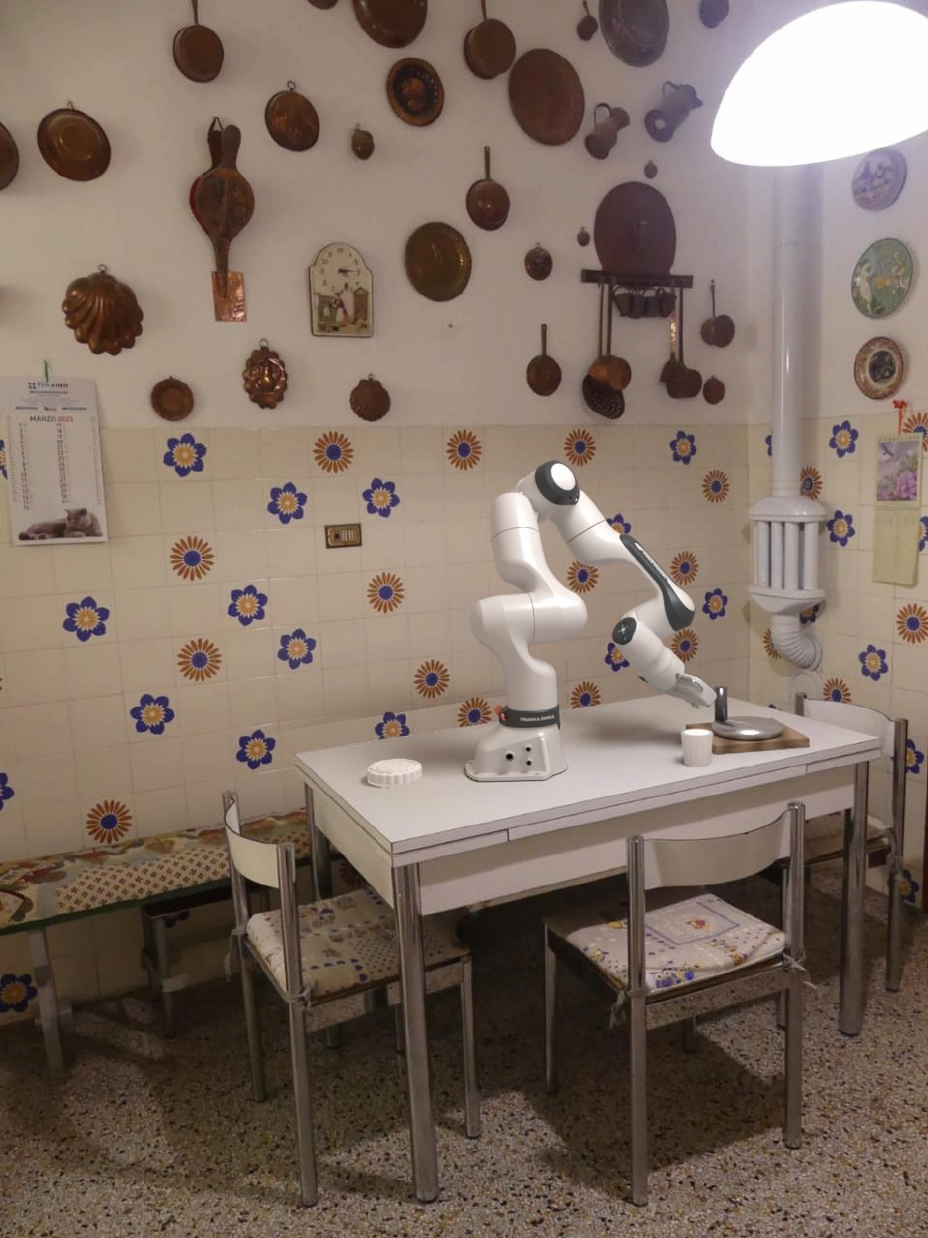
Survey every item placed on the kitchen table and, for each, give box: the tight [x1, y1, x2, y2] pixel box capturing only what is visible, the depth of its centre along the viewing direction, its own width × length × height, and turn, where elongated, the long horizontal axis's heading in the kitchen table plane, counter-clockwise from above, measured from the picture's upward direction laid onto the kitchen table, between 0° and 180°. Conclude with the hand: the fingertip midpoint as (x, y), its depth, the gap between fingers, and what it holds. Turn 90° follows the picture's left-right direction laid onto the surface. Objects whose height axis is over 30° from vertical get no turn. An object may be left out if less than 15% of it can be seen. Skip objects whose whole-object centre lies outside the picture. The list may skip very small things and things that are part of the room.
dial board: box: [685, 717, 810, 755], centre depth 223 cm, size 22×20×2 cm
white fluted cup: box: [680, 729, 713, 768], centre depth 207 cm, size 7×7×7 cm
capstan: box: [712, 685, 784, 740], centre depth 222 cm, size 16×16×10 cm
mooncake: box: [366, 757, 423, 785], centre depth 207 cm, size 12×12×4 cm
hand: (699, 706), depth 226 cm, fingers closed
